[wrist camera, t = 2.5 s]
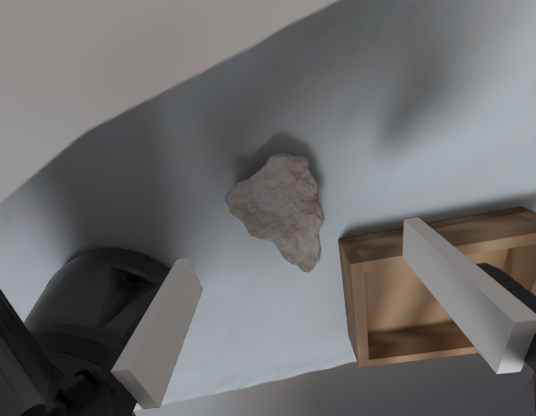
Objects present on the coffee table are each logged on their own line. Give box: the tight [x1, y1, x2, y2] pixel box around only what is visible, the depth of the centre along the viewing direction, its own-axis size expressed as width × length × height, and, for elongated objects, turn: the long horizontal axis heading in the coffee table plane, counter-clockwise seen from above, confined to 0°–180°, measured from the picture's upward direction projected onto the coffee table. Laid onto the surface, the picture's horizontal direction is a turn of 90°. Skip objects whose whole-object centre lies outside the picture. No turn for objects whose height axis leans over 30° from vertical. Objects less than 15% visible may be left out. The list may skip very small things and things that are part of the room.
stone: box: [225, 152, 324, 272], centre depth 20 cm, size 10×8×6 cm
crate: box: [338, 207, 536, 367], centre depth 25 cm, size 18×16×4 cm
